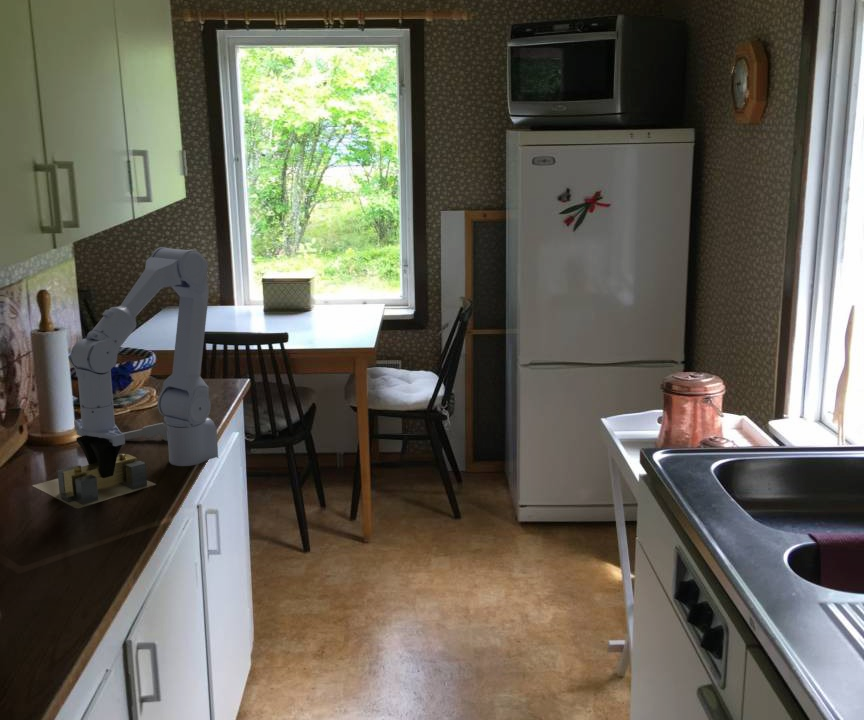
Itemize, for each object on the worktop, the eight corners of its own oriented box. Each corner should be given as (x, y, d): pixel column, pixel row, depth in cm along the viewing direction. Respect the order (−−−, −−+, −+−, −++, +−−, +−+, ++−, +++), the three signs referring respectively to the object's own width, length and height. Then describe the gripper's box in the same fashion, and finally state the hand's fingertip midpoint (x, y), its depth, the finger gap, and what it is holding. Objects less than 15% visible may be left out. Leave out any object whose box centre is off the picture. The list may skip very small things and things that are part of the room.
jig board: (109, 467, 184) (109, 464, 183) (156, 488, 173) (156, 484, 173) (32, 489, 172) (31, 485, 172) (77, 512, 161) (77, 508, 161)
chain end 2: (128, 473, 178) (127, 451, 177) (152, 483, 173) (151, 461, 172) (109, 479, 175) (107, 457, 174) (133, 489, 170) (131, 467, 169)
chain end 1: (74, 489, 170) (72, 466, 169) (98, 500, 165) (96, 477, 164) (53, 495, 167) (51, 472, 166) (76, 507, 162) (74, 483, 160)
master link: (129, 473, 175) (127, 450, 174) (137, 477, 173) (136, 453, 172) (65, 492, 166) (62, 467, 165) (73, 496, 164) (71, 471, 163)
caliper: (178, 443, 200) (176, 415, 199) (177, 444, 199) (175, 417, 198) (82, 446, 198) (80, 418, 196) (81, 447, 197) (78, 419, 195)
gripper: (56, 401, 168) (62, 470, 171) (96, 416, 159) (102, 489, 162) (92, 393, 173) (97, 461, 176) (133, 408, 164) (138, 478, 167)
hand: (102, 474), depth 169 cm, fingers closed on master link, 3 cm apart
